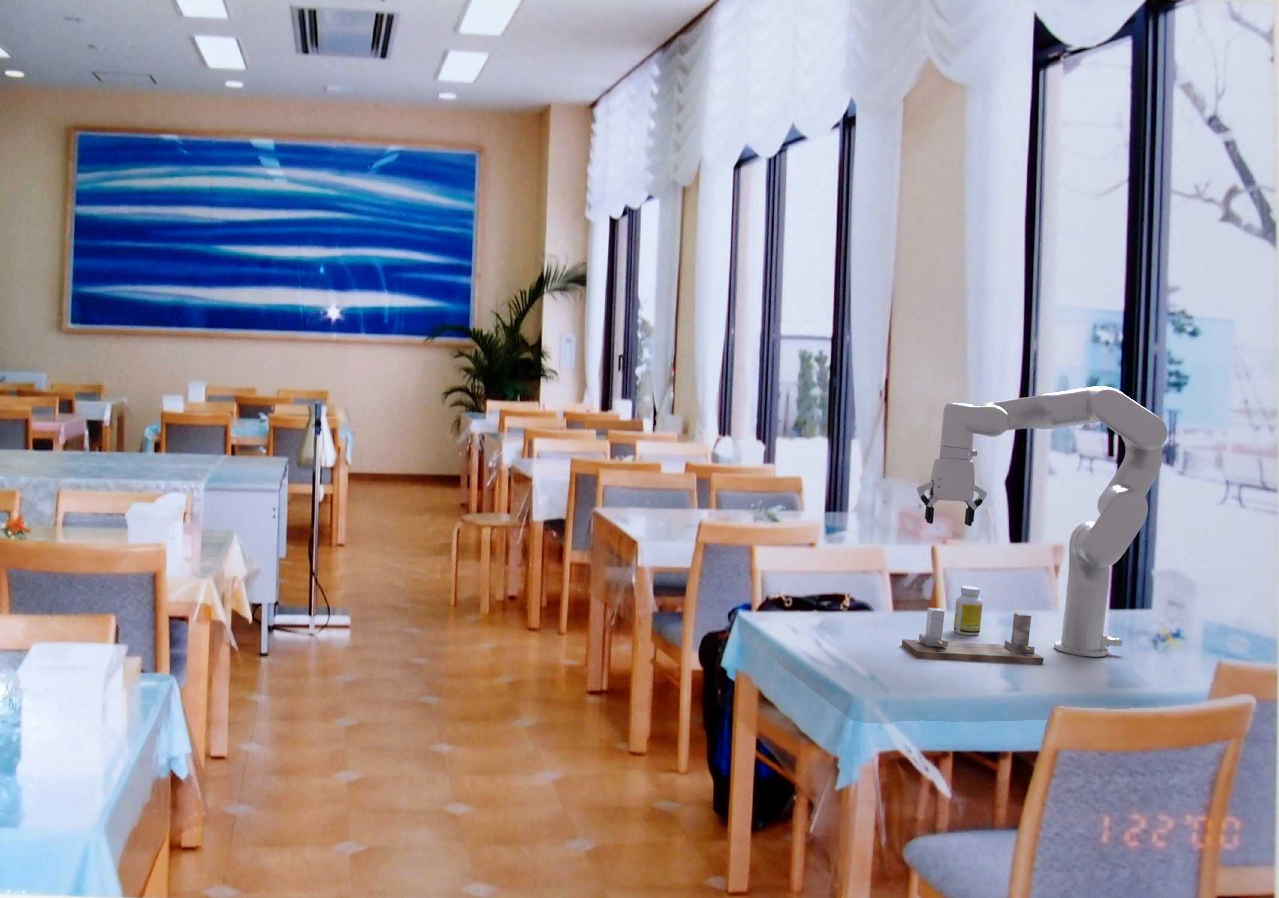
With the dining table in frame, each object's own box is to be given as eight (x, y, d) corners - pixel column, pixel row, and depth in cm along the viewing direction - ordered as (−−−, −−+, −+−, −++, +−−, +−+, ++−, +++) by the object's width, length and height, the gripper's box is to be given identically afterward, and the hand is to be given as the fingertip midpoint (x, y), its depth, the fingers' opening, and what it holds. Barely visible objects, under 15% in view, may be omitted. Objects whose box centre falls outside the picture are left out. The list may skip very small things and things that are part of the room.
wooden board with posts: (1023, 651, 339) (1027, 610, 338) (1042, 664, 327) (1047, 621, 326) (901, 645, 335) (905, 603, 334) (916, 657, 323) (920, 614, 323)
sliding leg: (939, 640, 335) (942, 607, 334) (951, 650, 326) (954, 615, 325) (918, 639, 334) (921, 606, 333) (930, 648, 325) (933, 614, 324)
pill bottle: (984, 636, 353) (988, 590, 352) (960, 635, 352) (965, 589, 351) (971, 630, 360) (976, 585, 358) (948, 629, 358) (952, 584, 357)
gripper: (984, 454, 347) (977, 523, 349) (916, 450, 345) (909, 519, 347) (995, 458, 340) (988, 528, 341) (925, 453, 338) (918, 524, 339)
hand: (948, 524), depth 344 cm, fingers open, 9 cm apart
